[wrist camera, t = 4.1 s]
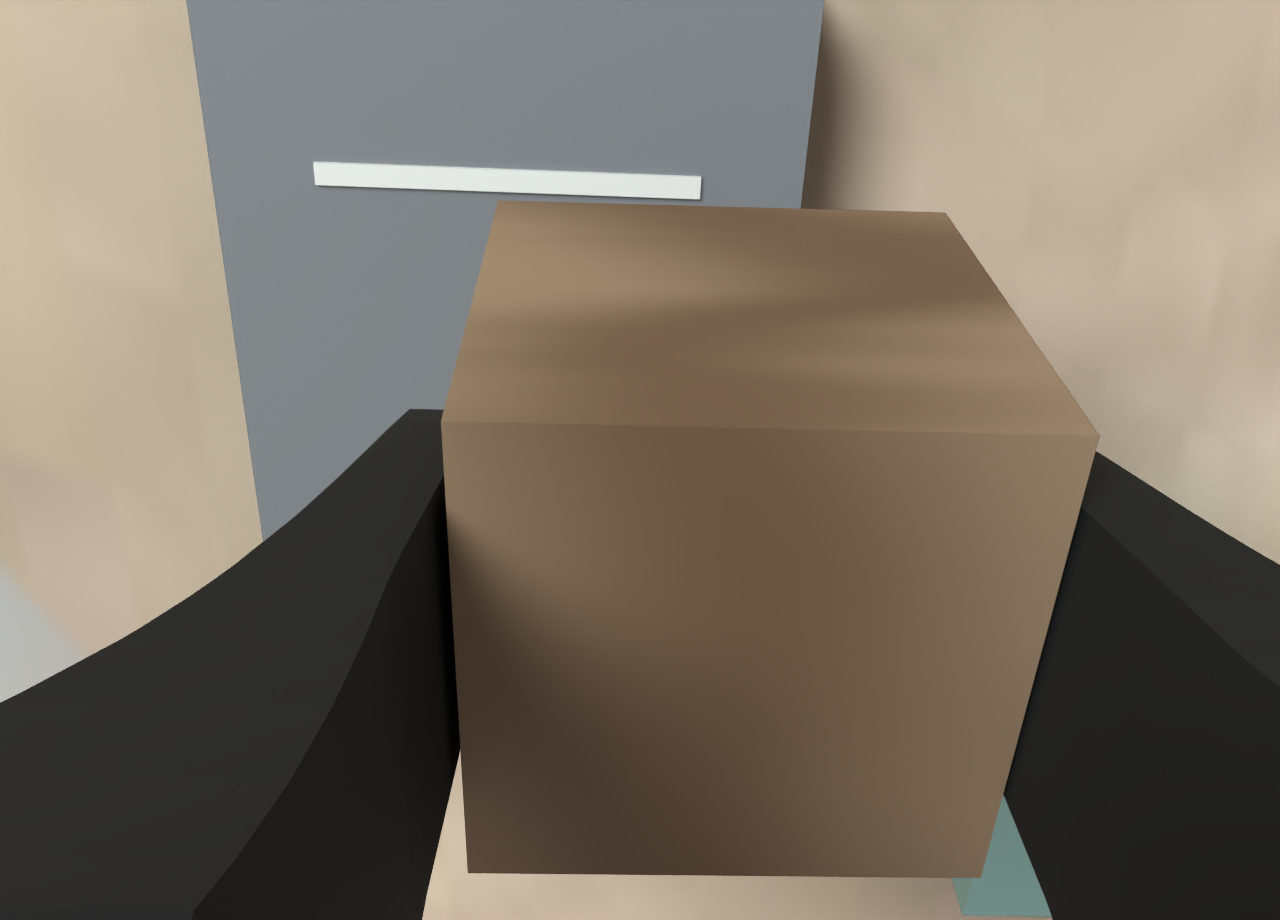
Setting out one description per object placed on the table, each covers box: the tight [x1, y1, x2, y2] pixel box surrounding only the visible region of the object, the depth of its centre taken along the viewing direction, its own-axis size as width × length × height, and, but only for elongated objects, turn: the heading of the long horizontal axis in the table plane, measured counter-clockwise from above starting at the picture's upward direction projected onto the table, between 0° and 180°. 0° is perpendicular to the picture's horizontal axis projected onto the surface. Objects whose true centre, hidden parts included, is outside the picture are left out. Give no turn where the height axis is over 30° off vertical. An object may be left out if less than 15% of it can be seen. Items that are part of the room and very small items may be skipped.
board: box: [186, 0, 824, 542], centre depth 19 cm, size 8×12×2 cm, turn 178°
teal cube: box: [952, 795, 1052, 917], centre depth 21 cm, size 4×4×4 cm
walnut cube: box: [441, 200, 1100, 878], centre depth 11 cm, size 4×4×4 cm
